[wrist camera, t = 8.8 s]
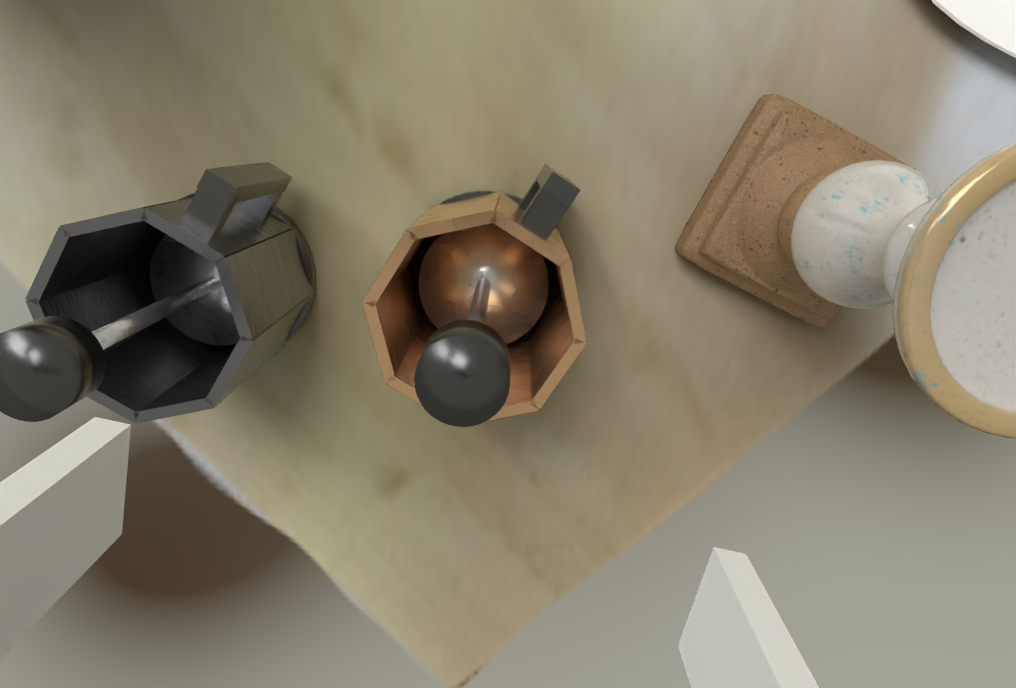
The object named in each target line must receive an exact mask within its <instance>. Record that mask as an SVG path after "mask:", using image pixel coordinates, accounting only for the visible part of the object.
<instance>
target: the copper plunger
mask: <svg viewBox="0 0 1016 688" xmlns="http://www.w3.org/2000/svg"><path fill="white" fill-rule="evenodd" d="M548 283H549V281H548V273H547V269H546V265H545V262H544V259H543V257H542V255H541V254H540V253H538V252H537V251H535V250H534V249H532V248H531V247H529V246H528V245H526V244H525V243H523V242H522V241H520V240H519V239H517V238H515V237H514V236H512V235H511V234H509V233H508V232H506V231H505V230H503V229H502V228H500V227H499V226H497V225H496V224H494V223H490V224H486V225H481V226H476V227H472V228H467V229H462V230H457V231H453V232H448V233H443V234H441V235H440V236H439V237H438V238H437V239H436V240H435V241H434V243H433V244H432V245H431V247H430V248H429V249H428V251H427V253H426V255H425V257H424V259H423V262H422V264H421V268H420V273H419V294H420V299H421V302H422V305H423V308H424V310H425V312H426V314H427V316H428V317H429V319H430V320H431V322H432V323H433V324H434V325H435V326H436V328H437V329H438V330H436V331H435V332H434V333H433V334H432V336H431V337H430V338H429V340H428V342H427V343H426V346H425V348H424V350H423V352H422V355H421V357H420V359H419V362H418V364H417V367H416V370H415V377H414V385H415V391H416V394H417V397H418V399H419V401H420V403H421V404H422V406H423V407H424V409H425V410H426V411H427V412H428V413H429V414H430V415H431V416H433V417H434V418H436V419H437V420H439V421H441V422H443V423H446V424H448V425H453V426H459V427H468V426H474V425H478V424H481V423H483V422H485V421H487V420H489V419H491V418H492V417H493V416H495V415H496V414H497V413H498V412H499V411H500V409H501V408H502V407H503V405H504V403H505V402H506V399H507V397H508V394H509V390H510V370H511V359H510V353H509V350H508V347H507V345H506V344H508V343H510V342H513V341H515V340H516V339H518V338H520V337H521V336H523V335H524V334H525V333H527V332H528V331H529V330H530V329H531V328H532V327H533V326H534V324H535V323H536V322H537V320H538V319H539V317H540V315H541V314H542V312H543V309H544V307H545V304H546V301H547V296H548Z"/></svg>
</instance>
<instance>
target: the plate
mask: <svg viewBox="0 0 1016 688" xmlns="http://www.w3.org/2000/svg"><path fill="white" fill-rule="evenodd" d="M931 1H932V2H933V4H935V5H936V6H937V7H938V8H939V9H941V10H942V11H943V12H944V13H945V14H946V15H948V16H949V17H950V18H951V19H952V20H954V21H955V22H956V23H957V24H959V25H960V26H962V27H963V28H965V29H966V30H968V31H969V32H971V33H972V34H974V35H975V36H977V37H978V38H980V39H981V40H983V41H984V42H986V43H988V44H990V45H992V46H994V47H996V48H997V49H999V50H1001V51H1003V52H1005V53H1007V54H1009V55H1011V56H1012V57H1014V58H1016V0H931Z"/></svg>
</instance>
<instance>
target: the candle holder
mask: <svg viewBox="0 0 1016 688" xmlns="http://www.w3.org/2000/svg"><path fill="white" fill-rule="evenodd" d="M675 250H676V251H677V252H678V254H680V255H681V256H683V257H684V258H686V259H687V260H689V261H691V262H693V263H694V264H696V265H698V266H699V267H701V268H703V269H705V270H706V271H708V272H710V273H712V274H714V275H716V276H718V277H720V278H722V279H724V280H726V281H728V282H730V283H731V284H733V285H735V286H737V287H739V288H741V289H743V290H745V291H747V292H749V293H751V294H753V295H755V296H756V297H758V298H760V299H762V300H764V301H766V302H768V303H770V304H772V305H774V306H776V307H778V308H780V309H782V310H783V311H785V312H787V313H789V314H791V315H793V316H795V317H797V318H799V319H801V320H803V321H806V322H808V323H810V324H812V325H815V326H817V327H821V328H824V327H825V326H826V325H827V324H828V323H829V322H830V321H831V319H832V318H833V317H834V315H835V314H836V313H837V311H838V310H839V309H840V307H841V306H844V307H849V308H857V309H868V308H878V307H882V306H887V305H891V304H893V321H894V332H895V337H896V341H897V344H898V348H899V351H900V355H901V357H902V359H903V361H904V363H905V365H906V367H907V369H908V371H909V374H910V376H911V377H912V379H913V380H914V381H915V383H916V384H917V385H918V387H919V388H920V389H921V391H922V392H923V393H924V395H926V396H927V397H928V398H929V399H930V400H931V401H932V402H933V403H934V404H935V405H936V406H938V407H939V408H940V409H941V410H942V411H944V412H945V413H947V414H948V415H950V416H952V417H953V418H955V419H957V420H958V421H959V422H961V423H963V424H966V425H968V426H971V427H973V428H976V429H978V430H980V431H983V432H985V433H989V434H993V435H998V436H1002V437H1007V438H1016V143H1013V144H1011V145H1008V146H1006V147H1004V148H1002V149H1000V150H999V151H997V152H995V153H993V154H992V155H990V156H988V157H986V158H985V159H983V160H981V161H980V162H978V163H977V164H976V165H974V166H973V167H972V168H970V169H969V170H968V171H966V172H965V173H964V174H963V175H961V176H960V177H959V178H958V179H957V180H956V181H954V182H953V183H952V184H951V185H950V186H949V187H948V188H947V189H946V190H945V191H944V192H943V193H942V194H941V193H940V192H939V190H938V189H937V187H936V186H935V185H934V184H933V183H932V182H931V181H930V180H929V179H928V178H927V177H926V176H924V175H923V174H921V173H920V172H919V171H917V170H915V169H913V168H911V167H909V166H907V165H906V164H904V163H903V162H901V161H899V160H898V159H896V158H894V157H892V156H891V155H889V154H887V153H885V152H883V151H882V150H880V149H878V148H876V147H874V146H873V145H871V144H869V143H867V142H866V141H864V140H862V139H860V138H858V137H857V136H855V135H853V134H851V133H850V132H848V131H846V130H844V129H842V128H841V127H839V126H837V125H835V124H833V123H832V122H830V121H828V120H826V119H825V118H823V117H821V116H819V115H817V114H816V113H814V112H812V111H810V110H809V109H807V108H805V107H803V106H801V105H799V104H797V103H795V102H793V101H791V100H789V99H786V98H784V97H782V96H780V95H775V94H770V95H764V96H763V97H762V98H760V99H759V101H758V102H757V104H756V105H755V107H754V109H753V110H752V112H751V113H750V115H749V116H748V118H747V120H746V121H745V123H744V125H743V126H742V128H741V130H740V132H739V133H738V135H737V137H736V139H735V140H734V142H733V144H732V146H731V147H730V149H729V151H728V153H727V154H726V156H725V158H724V160H723V161H722V163H721V165H720V167H719V168H718V170H717V172H716V174H715V175H714V177H713V179H712V181H711V182H710V184H709V186H708V188H707V189H706V191H705V193H704V194H703V196H702V198H701V200H700V201H699V203H698V205H697V207H696V208H695V210H694V212H693V214H692V215H691V217H690V219H689V221H688V222H687V224H686V226H685V228H684V230H683V232H682V234H681V236H680V238H679V240H678V242H677V244H676V249H675Z"/></svg>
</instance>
